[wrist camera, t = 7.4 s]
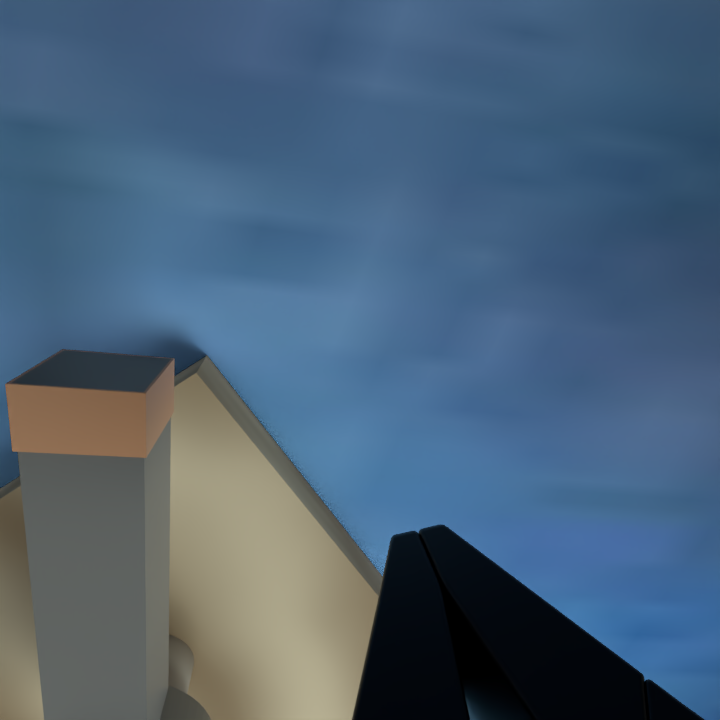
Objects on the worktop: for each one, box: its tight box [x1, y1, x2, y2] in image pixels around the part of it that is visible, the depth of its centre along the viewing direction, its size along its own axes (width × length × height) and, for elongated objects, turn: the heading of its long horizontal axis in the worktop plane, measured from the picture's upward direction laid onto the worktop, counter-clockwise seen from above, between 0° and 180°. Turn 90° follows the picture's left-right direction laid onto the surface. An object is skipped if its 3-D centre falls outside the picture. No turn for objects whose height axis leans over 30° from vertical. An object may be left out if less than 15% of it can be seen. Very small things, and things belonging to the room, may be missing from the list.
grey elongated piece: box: [5, 349, 211, 720], centre depth 10 cm, size 13×4×3 cm, turn 173°
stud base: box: [0, 356, 383, 720], centre depth 15 cm, size 14×14×4 cm
